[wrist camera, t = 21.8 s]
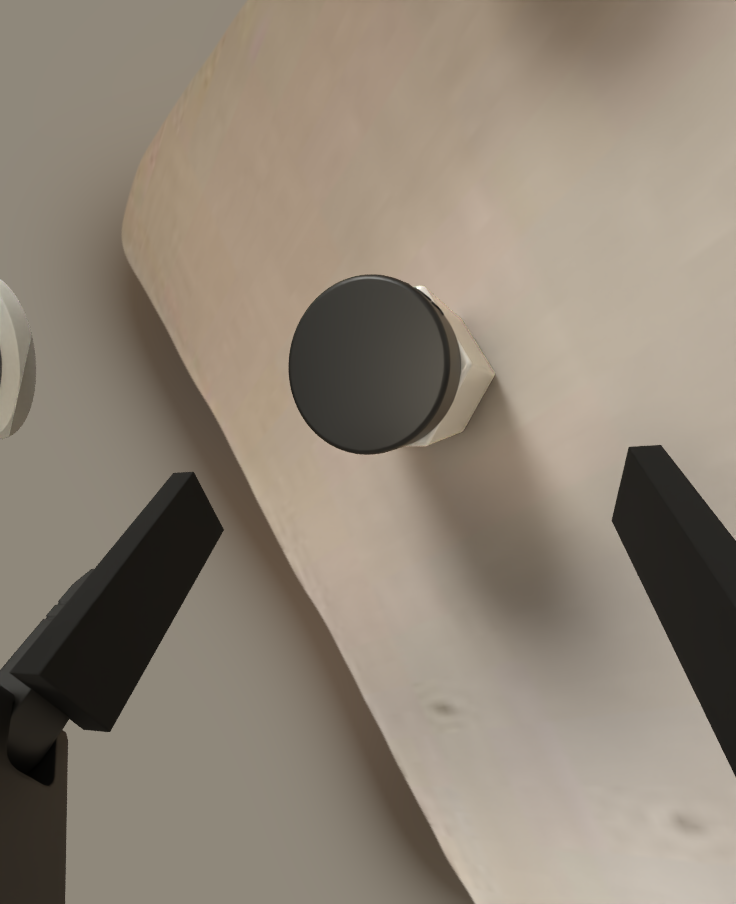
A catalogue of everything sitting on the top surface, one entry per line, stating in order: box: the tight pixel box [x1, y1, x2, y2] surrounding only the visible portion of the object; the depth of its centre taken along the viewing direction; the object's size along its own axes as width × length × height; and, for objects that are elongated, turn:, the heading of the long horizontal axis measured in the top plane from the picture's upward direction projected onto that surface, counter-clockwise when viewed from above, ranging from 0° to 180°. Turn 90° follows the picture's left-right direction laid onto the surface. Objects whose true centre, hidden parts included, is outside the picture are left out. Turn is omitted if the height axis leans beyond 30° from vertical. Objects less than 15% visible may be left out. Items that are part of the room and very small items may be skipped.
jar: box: [289, 275, 495, 455], centre depth 24 cm, size 9×8×12 cm
